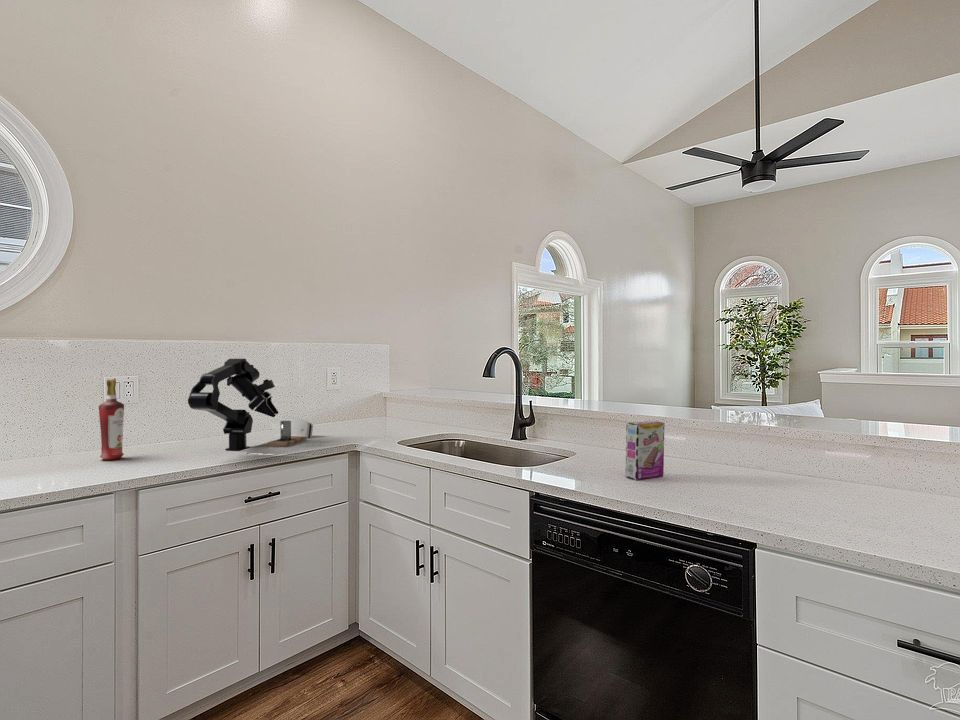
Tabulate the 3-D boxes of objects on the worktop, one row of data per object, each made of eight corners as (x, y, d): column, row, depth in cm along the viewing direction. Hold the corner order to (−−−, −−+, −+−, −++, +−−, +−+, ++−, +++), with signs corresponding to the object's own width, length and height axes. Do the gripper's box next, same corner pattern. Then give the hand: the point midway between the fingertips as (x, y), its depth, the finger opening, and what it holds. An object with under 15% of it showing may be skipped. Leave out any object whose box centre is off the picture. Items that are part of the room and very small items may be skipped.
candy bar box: (637, 481, 152) (637, 424, 152) (625, 477, 156) (625, 422, 156) (665, 476, 157) (665, 422, 157) (652, 473, 161) (652, 420, 161)
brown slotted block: (286, 449, 202) (286, 442, 202) (267, 449, 203) (266, 442, 203) (306, 442, 218) (306, 436, 218) (288, 442, 219) (288, 435, 219)
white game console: (272, 439, 226) (278, 416, 229) (280, 441, 230) (285, 419, 233) (303, 441, 220) (309, 418, 223) (311, 443, 224) (316, 420, 227)
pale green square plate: (318, 448, 204) (318, 445, 204) (298, 447, 205) (298, 445, 205) (327, 444, 212) (327, 442, 212) (308, 444, 213) (308, 442, 213)
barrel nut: (287, 447, 207) (287, 421, 207) (278, 446, 208) (278, 421, 208) (293, 445, 211) (292, 420, 211) (283, 445, 212) (283, 420, 212)
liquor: (112, 456, 188) (111, 378, 188) (129, 457, 187) (129, 378, 186) (93, 460, 181) (92, 379, 181) (112, 461, 180) (111, 379, 179)
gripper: (257, 373, 197) (288, 402, 200) (265, 371, 215) (293, 398, 218) (235, 395, 196) (266, 423, 199) (244, 391, 214) (273, 417, 217)
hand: (276, 414), depth 208 cm, fingers open, 9 cm apart
